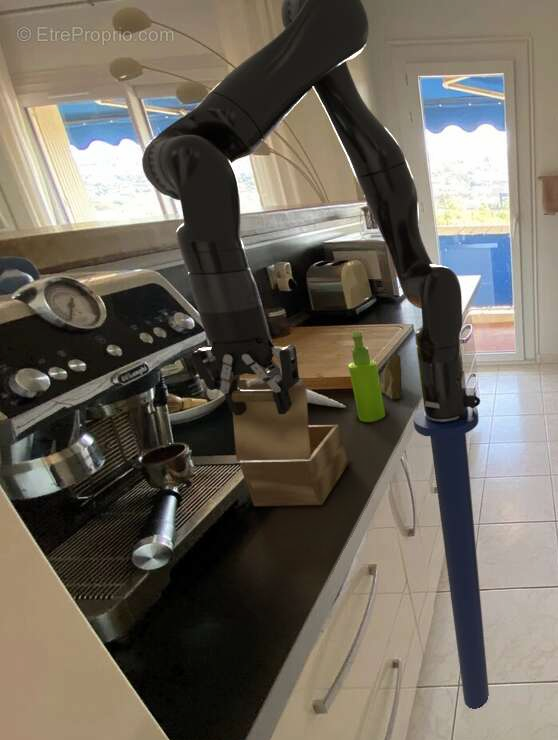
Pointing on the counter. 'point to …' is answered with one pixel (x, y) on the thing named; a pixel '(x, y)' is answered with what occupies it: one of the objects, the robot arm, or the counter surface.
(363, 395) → the soap dispenser
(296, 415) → the lid
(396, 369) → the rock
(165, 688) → the counter surface
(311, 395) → the unicorn horn
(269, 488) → the caddy
